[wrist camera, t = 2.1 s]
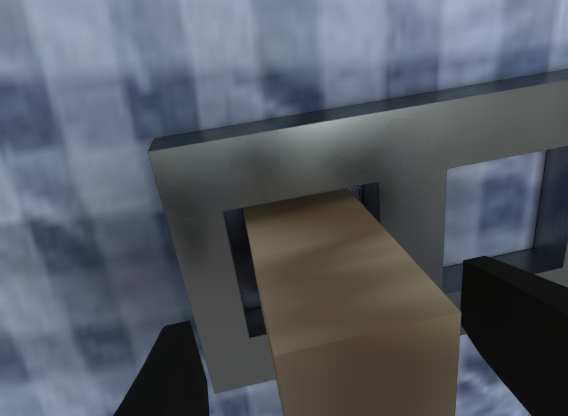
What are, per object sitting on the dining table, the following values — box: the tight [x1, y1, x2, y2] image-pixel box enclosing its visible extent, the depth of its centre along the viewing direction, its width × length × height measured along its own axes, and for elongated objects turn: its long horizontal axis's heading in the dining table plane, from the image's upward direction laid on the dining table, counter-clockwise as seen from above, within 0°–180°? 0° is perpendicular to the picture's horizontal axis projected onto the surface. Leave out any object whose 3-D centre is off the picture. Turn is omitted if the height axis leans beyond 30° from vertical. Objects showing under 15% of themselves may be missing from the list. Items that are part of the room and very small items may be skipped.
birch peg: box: [243, 188, 461, 416], centre depth 11 cm, size 4×4×7 cm
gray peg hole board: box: [148, 69, 568, 393], centre depth 14 cm, size 22×9×2 cm, turn 98°
